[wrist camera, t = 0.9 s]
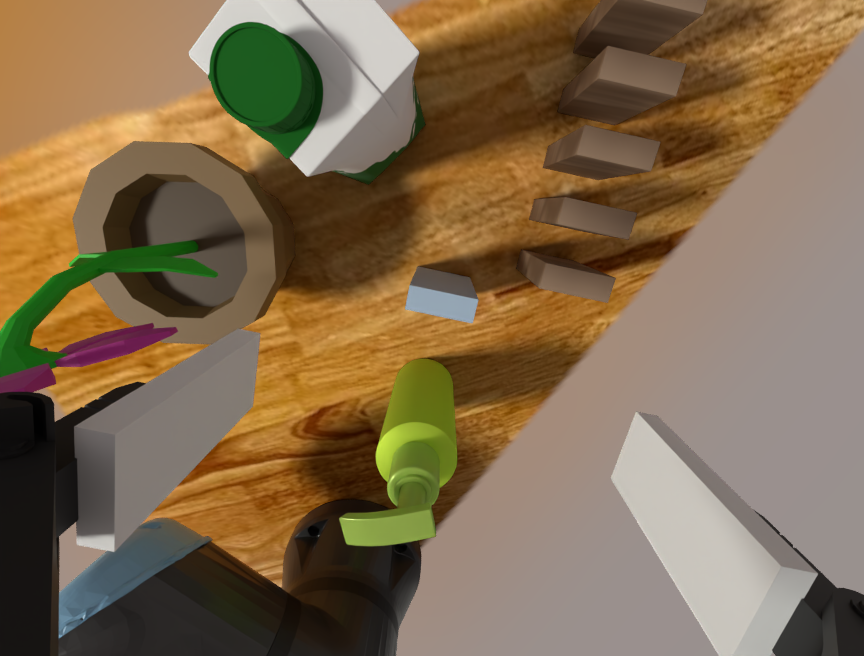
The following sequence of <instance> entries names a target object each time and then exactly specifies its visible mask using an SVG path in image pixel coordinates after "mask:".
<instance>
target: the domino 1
mask: <svg viewBox="0 0 864 656" xmlns="http://www.w3.org/2000/svg"><path fill="white" fill-rule="evenodd" d="M477 303H478V297H477V295H476V292H475V289H474V287H473V284H472V281H471V279H470V277H466V276H461V275H457V274H452V273H447V272H443V271H438V270H433V269H428V268H424V267H419V266H418V267H417V269H416V272H415V274H414V276H413V279H412V281H411V283H410V286H409V291H408V297H407V302H406V307H405V309H406V310H411V311H416V312H421V313H426V314H430V315H435V316H440V317H445V318H449V319H454V320H459V321H464V322H469V323H473V320H474V315H475V311H476V307H477Z"/></svg>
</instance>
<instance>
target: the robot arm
mask: <svg viewBox="0 0 864 656" xmlns="http://www.w3.org/2000/svg"><path fill="white" fill-rule="evenodd" d="M259 342H260V333H256V332H251V331H247V330H242V329H236V330H235V331H233V332H231V333H230V334H228V335H226V336H225V337H223V338H221V339H220V340H218V341H216V342H215V343H213V344H211V345H210V346H208V347H206V348H205V349H203V350H201V351H200V352H198V353H196V354H195V355H193V356H191V357H190V358H188V359H186V360H185V361H183V362H181V363H180V364H178V365H176V366H175V367H173V368H171V369H170V370H168V371H166V372H165V373H163V374H161V375H159V376H158V377H156V378H154V379H153V380H151V381H149V382H148V383H142V382H135V383H132V384H128V385H125V386H122V387H118V388H115V389H113V390H112V391H110V392H108V393H106V394H104V395H103V396H101V397H99V399H98V400H96V399H95V400H94V401H92V402H90V403H88V404H87V405H85V407H84V408H82V407H81V408H79V409H78V410H76V411H74V412H72V413H70V414H69V415H67V416H65V417H63V418H61V419H60V420H58V421H56V422H55V421H54V403H53V401H52V399H51V398H50V397H48V396H45V395H43V394H40V393H33V392H4V393H0V656H396V650H397V638H398V630H399V626H400V624H401V622H402V620H403V618H404V616H405V614H406V611H407V609H408V607H409V605H410V603H411V601H412V599H413V596H414V594H415V592H416V590H417V587H418V584H419V579H420V570H421V549H420V545H419V542H418V540H417V541H412V542H406V543H400V544H394V545H385V546H356V545H348V544H346V541H345V538H344V534H343V531H342V527H341V524H340V520H339V518H340V517H341V516H343V515H344V514H346V513H369V512H378V511H385V510H389V509H387V508H386V507H383V506H381V505H378V504H376V503H372V502H368V501H363V500H339V501H334V502H330V503H327V504H324V505H321V506H319V507H317V508H315V509H314V510H312V511H311V512H309V513H308V514H307V515H306V516H305V517H303V518H302V520H301V521H300V522H299V523H298V525H297V526H296V528H295V530H294V532H293V534H292V536H291V538H290V540H289V543H288V545H287V548H286V551H285V555H284V561H283V579H282V588H280V587H279V586H277V585H276V584H274V583H273V582H271V581H270V580H268V579H267V578H265V577H264V576H262V575H261V574H259V573H258V572H256V571H255V570H253V569H252V568H250V567H249V566H247V565H246V564H244V563H243V562H241V561H240V560H238V559H237V558H235V557H234V556H232V555H231V554H229V553H227V552H226V551H224V550H223V549H221V548H220V547H218V546H217V545H215V544H214V543H212V542H211V541H212V539H211V538H210V537H209V536H206V537H203V536H201V535H200V534H198V533H196V532H194V531H193V530H191V529H189V528H187V527H186V526H184V525H182V524H181V523H179V522H177V521H175V520H173V519H169V518H157V519H153V520H150V521H147V522H145V523H143V524H142V525H140V524H141V523H142V522H143V521H144V520H145V519H146V518H147V517H148V516H149V515H150V514H151V513H152V512H153V511H154V510H155V509H156V508H157V507H158V506H159V504H160V503H161V502H162V501H163V500H164V499H165V498H166V497H167V496H168V495H169V494H170V493H171V492H172V491H173V490H174V489H175V488H176V487H177V486H178V484H179V483H180V482H181V481H182V480H183V479H184V478H185V477H186V476H187V475H188V474H189V473H190V472H191V471H192V470H193V469H194V468H195V467H196V466H197V464H198V463H199V462H200V461H201V460H202V459H203V458H204V457H205V456H206V455H207V454H208V453H209V452H210V451H211V450H212V449H213V448H214V447H215V446H216V444H217V443H218V442H219V441H220V440H221V439H222V438H223V437H224V436H225V435H226V434H227V433H228V432H229V431H230V430H231V429H232V428H233V427H234V426H235V424H236V423H237V422H238V421H239V420H240V419H241V418H242V417H243V416H244V415H245V414H246V413H247V412H248V411H249V410H250V409H251V408H252V407H253V399H254V390H255V380H256V371H257V361H258V351H259ZM611 480H612V482H613V483H614V485H615V486H616V488H617V490H618V491H619V493H620V495H621V496H622V498H623V499H624V501H625V503H626V504H627V506H628V508H629V509H630V511H631V513H632V514H633V516H634V518H635V519H636V521H637V522H638V524H639V526H640V527H641V529H642V530H643V532H644V534H645V535H646V537H647V538H648V540H649V542H650V544H651V545H652V547H653V548H654V550H655V552H656V553H657V555H658V557H659V558H660V560H661V562H662V563H663V565H664V566H665V568H666V570H667V571H668V573H669V574H670V576H671V578H672V580H673V581H674V583H675V584H676V586H677V588H678V589H679V591H680V593H681V594H682V596H683V598H684V599H685V601H686V602H687V604H688V606H689V607H690V609H691V611H692V612H693V614H694V615H695V617H696V619H697V620H698V622H699V624H700V625H701V627H702V629H703V630H704V632H705V633H706V635H707V637H708V638H709V640H710V642H711V643H712V645H713V647H714V648H715V650H716V651H717V653H718V655H719V656H771V655H772V653H774V654H775V655H776V656H864V595H863V594H860V593H858V592H856V591H853V590H849V589H845V588H836V587H835V586H834V585H833V584H832V583H831V582H830V581H829V580H828V579H827V578H826V577H825V576H824V575H823V574H822V573H821V572H820V571H819V570H818V569H817V568H816V567H815V566H814V565H813V564H812V563H811V562H810V561H809V560H808V559H807V558H806V557H804V556H803V554H801V553H800V552H799V551H798V550H797V549H796V548H793V545H792V544H791V543H790V542H789V541H788V540H787V539H786V538H785V537H784V536H783V535H780V534H779V533H780V532H779V531H778V530H777V529H776V528H775V527H774V526H773V525H772V524H771V523H770V522H769V521H768V520H766V519H765V518H764V517H763V516H762V515H760V514H759V513H757V512H756V511H755V510H753V509H752V508H751V507H750V506H749V505H748V504H747V503H746V502H745V501H744V500H743V499H741V498H740V496H738V494H737V493H735V492H734V491H733V490H732V489H731V488H730V487H729V486H728V485H727V484H726V483H725V482H724V481H723V480H722V479H721V478H720V477H719V476H718V475H717V474H716V473H715V472H714V471H713V470H712V469H711V468H710V467H709V466H708V465H707V464H706V463H705V462H704V461H703V460H702V459H701V458H700V457H699V456H698V455H697V454H696V453H695V452H694V451H693V450H692V449H691V448H689V446H688V445H687V444H685V443H684V441H683V440H682V439H681V438H680V437H679V436H678V435H677V434H675V433H674V432H673V431H672V430H671V429H670V428H669V427H668V426H667V425H666V424H665V423H664V422H663V421H662V420H661V419H660V418H659V417H658V416H656V415H651V414H646V413H641V412H636V414H635V416H634V419H633V421H632V424H631V427H630V429H629V432H628V435H627V438H626V440H625V443H624V445H623V448H622V451H621V453H620V456H619V458H618V461H617V464H616V466H615V469H614V471H613V474H612V477H611ZM75 522H76V526H77V527H76V528H77V545H80V546H86V547H91V548H96V549H102V550H107V552H105V553H104V554H103V555H102V556H100V557H99V558H98V559H97V560H96V561H95V562H93V563H92V564H91V565H90V566H89V567H88V568H86V569H85V570H84V571H83V572H82V573H81V574H80V575H78V576H77V577H76V578H75V579H74V580H73V581H72V582H71V583H70V584H68V585H67V586H66V587H65V588H64V589H63V590H62V591H61V592H59V536H60V535H61V534H62V533H63V532H64V531H66V530H67V529H68V528H69V527H70V526H71V525H73V524H74V523H75Z"/></svg>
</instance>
